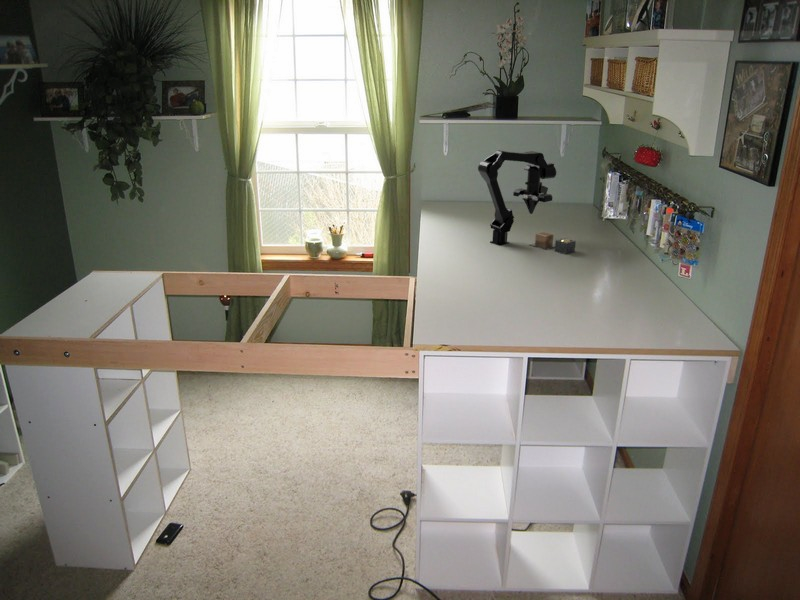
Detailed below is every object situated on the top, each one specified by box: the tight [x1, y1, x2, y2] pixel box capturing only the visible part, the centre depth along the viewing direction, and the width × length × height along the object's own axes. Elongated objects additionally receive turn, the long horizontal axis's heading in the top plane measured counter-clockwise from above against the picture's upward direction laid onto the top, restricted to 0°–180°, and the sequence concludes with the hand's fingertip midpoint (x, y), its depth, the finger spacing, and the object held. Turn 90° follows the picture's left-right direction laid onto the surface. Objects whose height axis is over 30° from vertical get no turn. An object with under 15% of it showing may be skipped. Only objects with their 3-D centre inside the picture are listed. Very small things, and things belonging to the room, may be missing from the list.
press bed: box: [529, 242, 556, 251], centre depth 293 cm, size 9×9×1 cm
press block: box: [554, 237, 577, 255], centre depth 283 cm, size 6×6×5 cm
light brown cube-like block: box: [534, 231, 554, 247], centre depth 292 cm, size 6×6×5 cm
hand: (531, 213), depth 299 cm, fingers closed
